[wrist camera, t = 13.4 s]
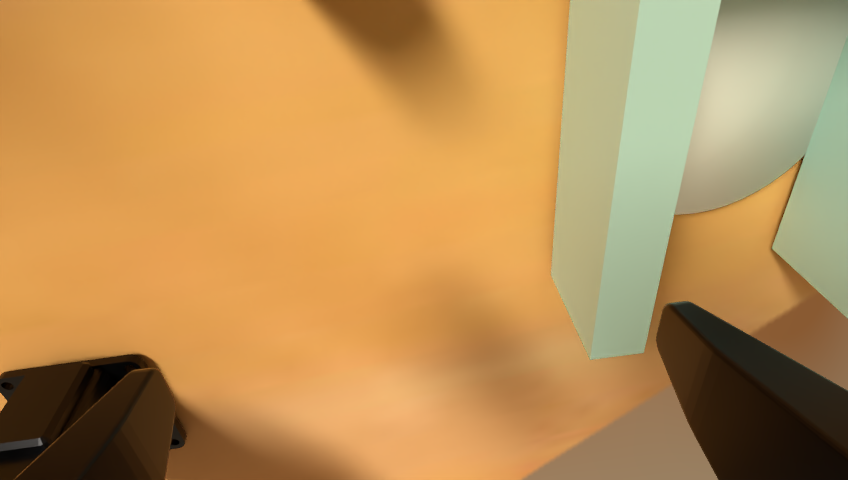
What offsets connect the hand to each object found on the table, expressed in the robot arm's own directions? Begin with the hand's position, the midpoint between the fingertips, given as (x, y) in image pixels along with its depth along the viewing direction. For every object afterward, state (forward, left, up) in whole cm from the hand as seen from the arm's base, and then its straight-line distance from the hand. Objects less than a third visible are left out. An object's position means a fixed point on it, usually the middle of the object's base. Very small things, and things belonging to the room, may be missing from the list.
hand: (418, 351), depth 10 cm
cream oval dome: (-1, -12, -12) cm, 17 cm away
